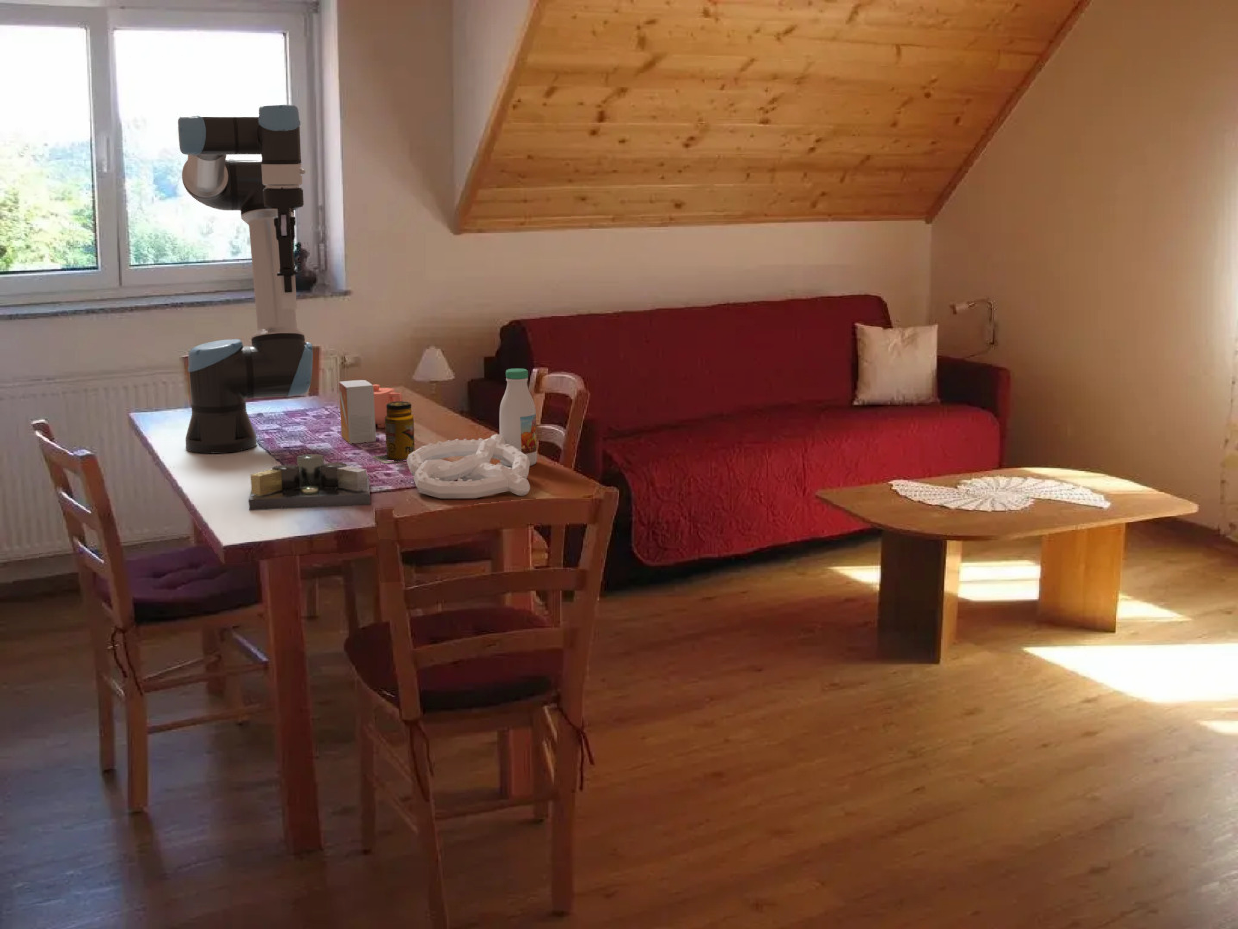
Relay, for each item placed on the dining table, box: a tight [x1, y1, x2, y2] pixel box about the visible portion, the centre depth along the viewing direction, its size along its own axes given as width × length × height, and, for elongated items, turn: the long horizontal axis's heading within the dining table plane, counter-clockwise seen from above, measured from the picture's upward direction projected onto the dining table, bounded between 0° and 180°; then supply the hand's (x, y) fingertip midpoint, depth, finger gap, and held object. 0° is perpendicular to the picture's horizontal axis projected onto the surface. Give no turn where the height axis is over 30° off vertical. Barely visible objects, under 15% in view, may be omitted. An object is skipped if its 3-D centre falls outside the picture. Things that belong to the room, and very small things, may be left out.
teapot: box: [372, 383, 404, 429], centre depth 334 cm, size 12×12×10 cm
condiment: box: [371, 400, 416, 465], centre depth 299 cm, size 7×8×12 cm
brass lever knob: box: [250, 464, 300, 496], centre depth 264 cm, size 5×10×4 cm, turn 146°
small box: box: [338, 379, 377, 445], centre depth 317 cm, size 8×6×13 cm
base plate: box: [248, 453, 371, 511], centre depth 267 cm, size 15×22×7 cm
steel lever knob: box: [320, 462, 368, 491], centre depth 266 cm, size 5×10×4 cm, turn 55°
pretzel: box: [406, 433, 531, 499], centre depth 277 cm, size 28×24×6 cm
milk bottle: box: [498, 368, 538, 468], centre depth 293 cm, size 8×8×20 cm
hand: (289, 308), depth 276 cm, fingers closed
